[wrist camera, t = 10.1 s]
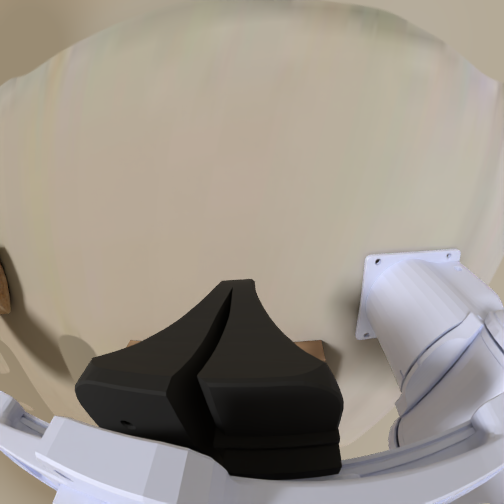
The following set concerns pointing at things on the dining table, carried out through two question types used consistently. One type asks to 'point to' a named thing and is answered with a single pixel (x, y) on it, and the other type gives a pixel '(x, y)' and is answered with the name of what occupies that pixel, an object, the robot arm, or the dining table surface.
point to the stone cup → (4, 294)
